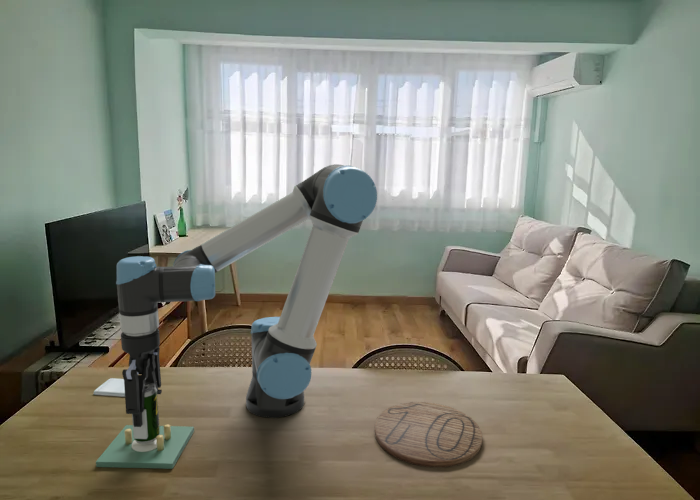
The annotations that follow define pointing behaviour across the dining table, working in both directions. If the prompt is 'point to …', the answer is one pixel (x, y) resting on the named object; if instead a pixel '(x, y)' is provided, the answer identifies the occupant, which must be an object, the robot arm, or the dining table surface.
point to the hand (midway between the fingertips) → (146, 429)
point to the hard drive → (111, 388)
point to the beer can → (151, 413)
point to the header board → (146, 449)
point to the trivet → (428, 434)
